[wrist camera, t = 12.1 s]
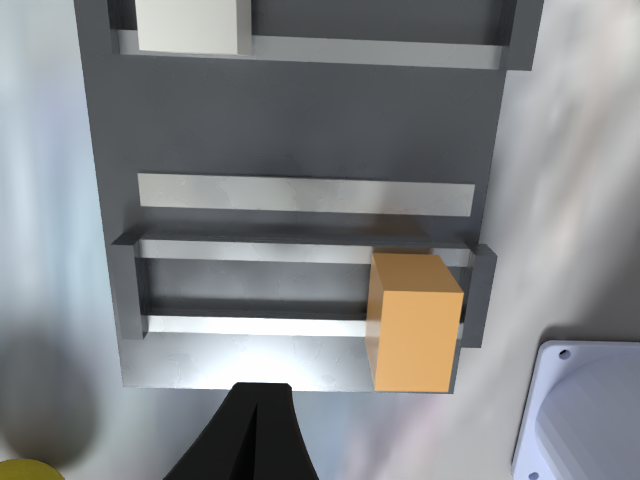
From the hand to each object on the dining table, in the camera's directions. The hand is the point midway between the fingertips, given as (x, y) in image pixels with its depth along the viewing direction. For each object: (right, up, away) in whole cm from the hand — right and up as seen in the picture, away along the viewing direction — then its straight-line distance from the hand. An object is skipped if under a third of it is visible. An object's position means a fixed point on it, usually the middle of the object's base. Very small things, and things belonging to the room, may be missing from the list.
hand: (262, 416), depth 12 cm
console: (+1, +8, +6) cm, 10 cm away
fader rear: (+4, +2, +7) cm, 8 cm away
